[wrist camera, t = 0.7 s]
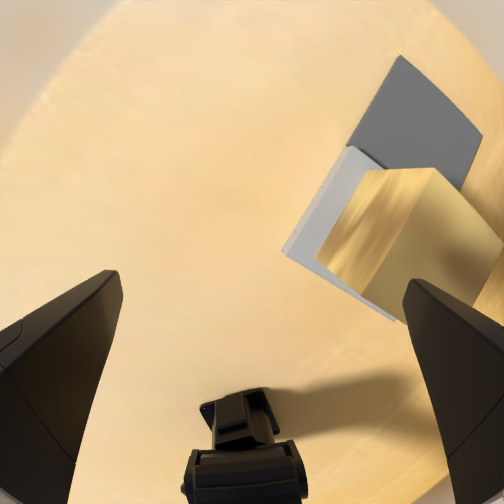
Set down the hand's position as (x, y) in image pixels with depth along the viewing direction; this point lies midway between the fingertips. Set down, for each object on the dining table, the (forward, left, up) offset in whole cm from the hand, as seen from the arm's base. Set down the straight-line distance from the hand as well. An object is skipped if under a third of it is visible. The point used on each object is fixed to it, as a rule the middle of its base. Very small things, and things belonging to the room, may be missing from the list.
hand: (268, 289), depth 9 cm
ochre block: (-5, -10, -15) cm, 19 cm away
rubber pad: (+2, -18, -17) cm, 25 cm away
